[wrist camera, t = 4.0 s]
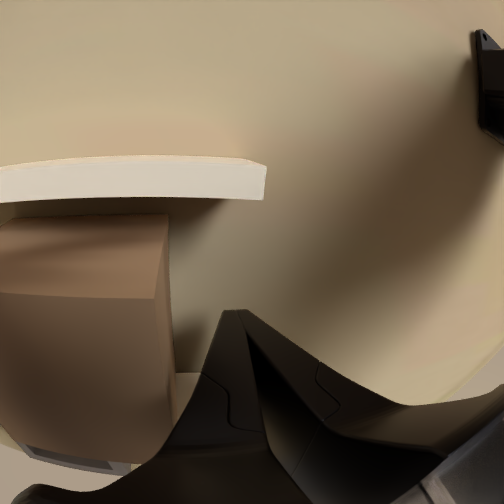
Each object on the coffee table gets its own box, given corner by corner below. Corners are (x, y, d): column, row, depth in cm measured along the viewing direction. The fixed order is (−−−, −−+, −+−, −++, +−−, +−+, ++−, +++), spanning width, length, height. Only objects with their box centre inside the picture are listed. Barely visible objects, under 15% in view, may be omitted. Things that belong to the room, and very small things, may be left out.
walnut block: (168, 214, 9) (153, 298, 4) (174, 358, 11) (182, 464, 6) (13, 218, 7) (-75, 284, 3) (47, 351, 9) (14, 440, 5)
